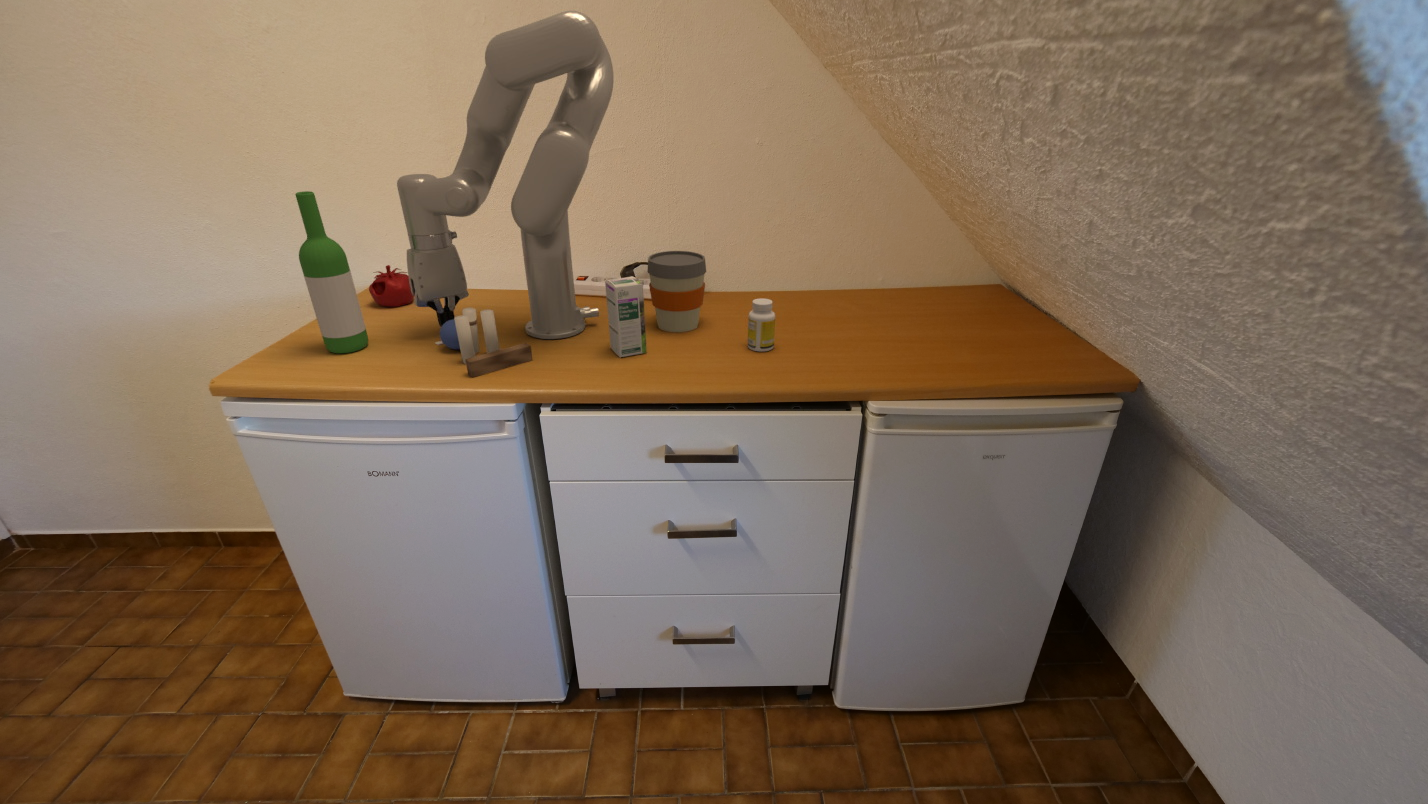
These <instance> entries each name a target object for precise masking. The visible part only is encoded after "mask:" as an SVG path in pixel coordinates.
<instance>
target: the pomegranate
mask: <svg viewBox="0 0 1428 804" xmlns="http://www.w3.org/2000/svg"><path fill="white" fill-rule="evenodd" d="M385 270H386V272H383V271H379V270H378V271H375V272H373V273H379V274H376V275H375V276H374V277H373V279H374V280H373V282H372V283H371V284H370V285H369V287H368V291H369V294H370V296H371V298H372V299H373V301H374V302H375V303H376V304H378V305H379V306H382V307H387V308H388V307H389V308H391V307H392V308H395V307H398V306H399V307H402V306H405V305H406V306H407V305H408V304H410V303H413V301H414V300H415V296H414V295H413V294H412V292H411V288H410V283H409V276H408V271H407V272H406V271H401V270H403V269H402V268H398V267H396V268H394V269H393V270H392V271H391V265H390V264H387V265H385ZM398 270H399V272H396V271H398Z"/></svg>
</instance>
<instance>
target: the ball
mask: <svg viewBox="0 0 1428 804" xmlns="http://www.w3.org/2000/svg"><path fill="white" fill-rule="evenodd" d="M439 337H440V341H442V342H443V344H442V345H444V346H445V347H447V348H449V349H451V350H460V345H459V340H458V335H457V330H456V325H455V319H452V320H449V321H447V322H445V323H444V324H443V325H442V327H440V329H439Z"/></svg>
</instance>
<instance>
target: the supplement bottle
mask: <svg viewBox="0 0 1428 804" xmlns="http://www.w3.org/2000/svg"><path fill="white" fill-rule="evenodd" d="M773 303H774V302H773V300H772V299H769V298H755V299H753V300H752V305H751V307H752V310H750V312H749V313H748V317H747V319H748V321H747V323H748V324H747V347H748V349H750V350H751V351H755V352H763V353H764V352H768V351H772V350H773V349H774V346H775V332H776V331H775V330H776V313H775V312H774V311H773Z"/></svg>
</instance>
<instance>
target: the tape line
mask: <svg viewBox="0 0 1428 804" xmlns="http://www.w3.org/2000/svg"><path fill="white" fill-rule="evenodd" d="M435 345H436V346H440V345H444V344H443V342H442V341H441V340H440V341H436V342H435Z"/></svg>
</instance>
